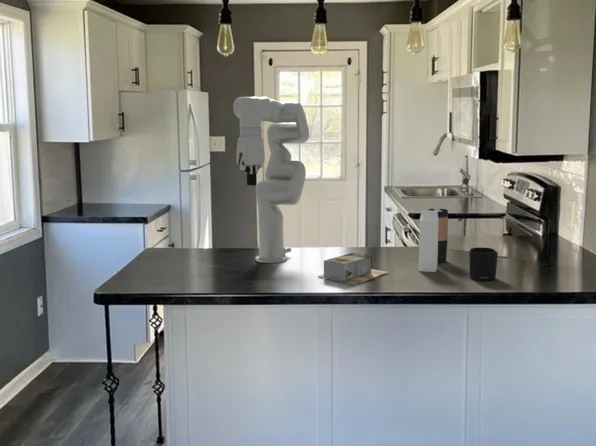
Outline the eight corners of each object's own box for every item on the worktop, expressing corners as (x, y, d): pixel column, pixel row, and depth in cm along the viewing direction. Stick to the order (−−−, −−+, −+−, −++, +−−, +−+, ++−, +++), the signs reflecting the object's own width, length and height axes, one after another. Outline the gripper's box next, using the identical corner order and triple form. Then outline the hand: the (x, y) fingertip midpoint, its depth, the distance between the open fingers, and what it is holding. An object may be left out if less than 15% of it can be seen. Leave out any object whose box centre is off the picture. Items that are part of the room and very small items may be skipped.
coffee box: (323, 259, 237) (351, 252, 249) (323, 277, 238) (351, 269, 250) (344, 263, 231) (372, 255, 243) (344, 282, 232) (371, 273, 244)
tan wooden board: (352, 267, 256) (352, 265, 255) (388, 273, 245) (388, 272, 245) (318, 277, 241) (318, 275, 241) (354, 284, 230) (354, 283, 230)
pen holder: (463, 278, 237) (464, 250, 236) (477, 273, 244) (478, 246, 242) (488, 283, 231) (489, 254, 229) (501, 278, 237) (502, 249, 236)
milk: (421, 267, 254) (422, 209, 251) (437, 268, 252) (438, 209, 249) (418, 271, 248) (419, 211, 245) (435, 272, 246) (436, 211, 243)
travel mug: (438, 264, 259) (440, 211, 256) (422, 261, 265) (423, 209, 262) (450, 261, 264) (452, 209, 261) (434, 258, 270) (436, 207, 267)
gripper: (258, 132, 247) (259, 182, 250) (227, 133, 236) (229, 186, 239) (273, 132, 242) (274, 184, 245) (242, 133, 231) (244, 187, 234)
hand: (251, 185), depth 242 cm, fingers closed
